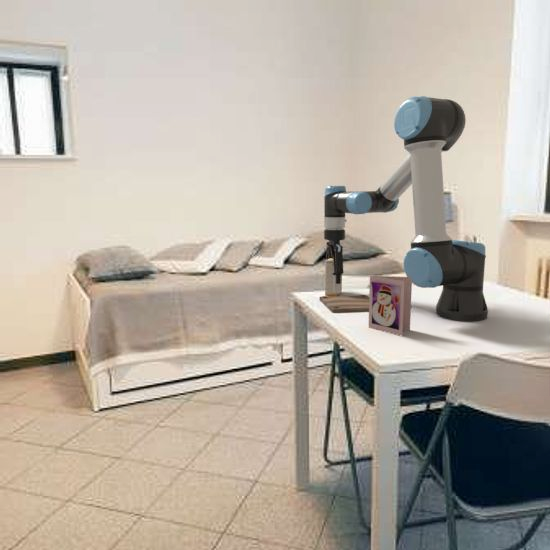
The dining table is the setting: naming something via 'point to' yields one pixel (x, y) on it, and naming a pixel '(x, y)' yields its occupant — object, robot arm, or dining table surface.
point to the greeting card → (390, 303)
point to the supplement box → (330, 278)
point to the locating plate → (346, 303)
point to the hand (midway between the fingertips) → (333, 289)
